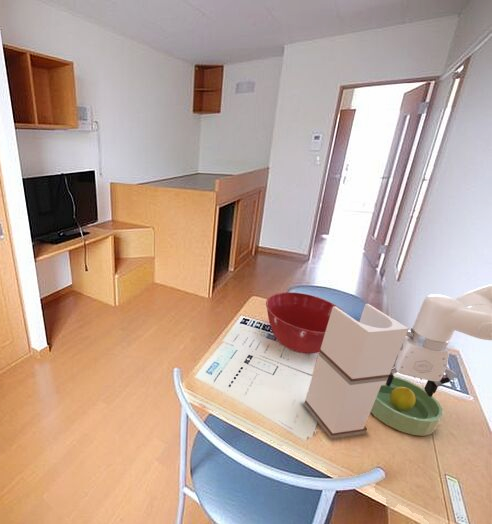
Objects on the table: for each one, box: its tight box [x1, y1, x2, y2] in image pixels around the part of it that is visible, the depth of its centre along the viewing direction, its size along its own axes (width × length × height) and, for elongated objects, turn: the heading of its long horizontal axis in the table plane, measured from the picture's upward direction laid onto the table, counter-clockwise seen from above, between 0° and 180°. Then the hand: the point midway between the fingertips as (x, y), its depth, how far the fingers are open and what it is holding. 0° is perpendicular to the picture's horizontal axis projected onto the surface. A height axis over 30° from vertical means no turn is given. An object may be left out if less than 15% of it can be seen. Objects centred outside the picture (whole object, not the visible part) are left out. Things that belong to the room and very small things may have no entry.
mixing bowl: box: [265, 291, 345, 355], centre depth 119 cm, size 28×28×16 cm
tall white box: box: [303, 303, 409, 439], centre depth 82 cm, size 11×11×35 cm
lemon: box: [390, 387, 416, 411], centre depth 90 cm, size 6×6×8 cm
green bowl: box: [370, 375, 444, 437], centre depth 91 cm, size 18×18×6 cm
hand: (406, 387), depth 88 cm, fingers open, 9 cm apart
